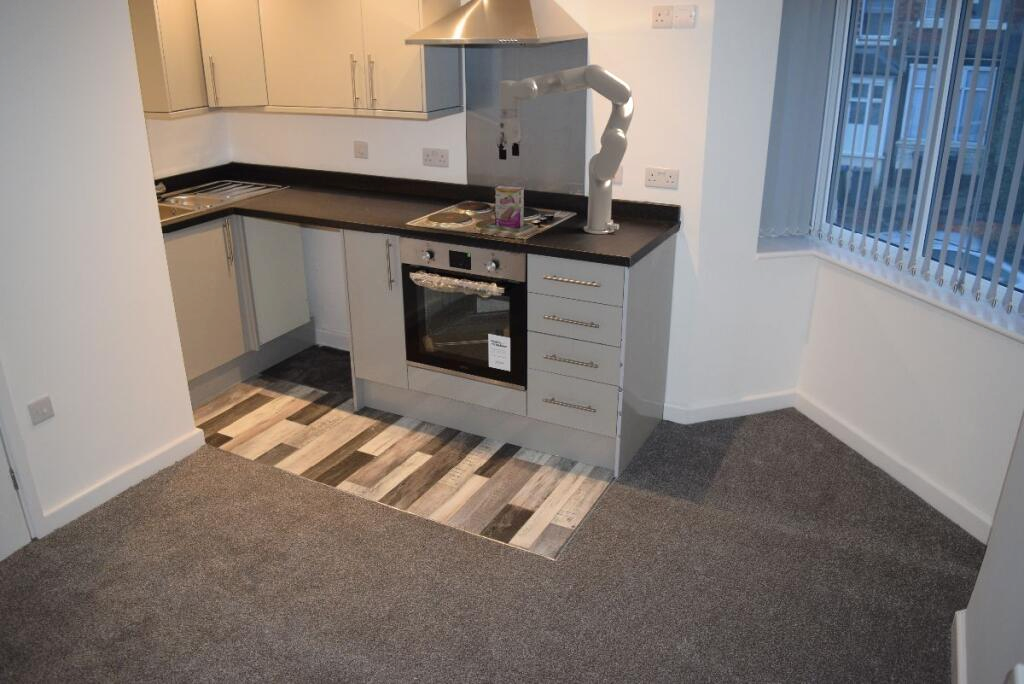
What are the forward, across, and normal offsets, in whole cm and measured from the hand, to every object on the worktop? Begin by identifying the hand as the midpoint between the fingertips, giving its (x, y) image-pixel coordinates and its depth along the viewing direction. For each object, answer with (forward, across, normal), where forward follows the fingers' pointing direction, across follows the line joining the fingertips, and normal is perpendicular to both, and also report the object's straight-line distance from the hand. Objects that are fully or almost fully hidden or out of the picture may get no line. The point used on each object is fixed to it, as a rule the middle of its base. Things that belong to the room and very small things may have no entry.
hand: (509, 157), depth 327 cm
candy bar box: (+29, 0, 0) cm, 29 cm away
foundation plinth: (+31, 0, 0) cm, 31 cm away
